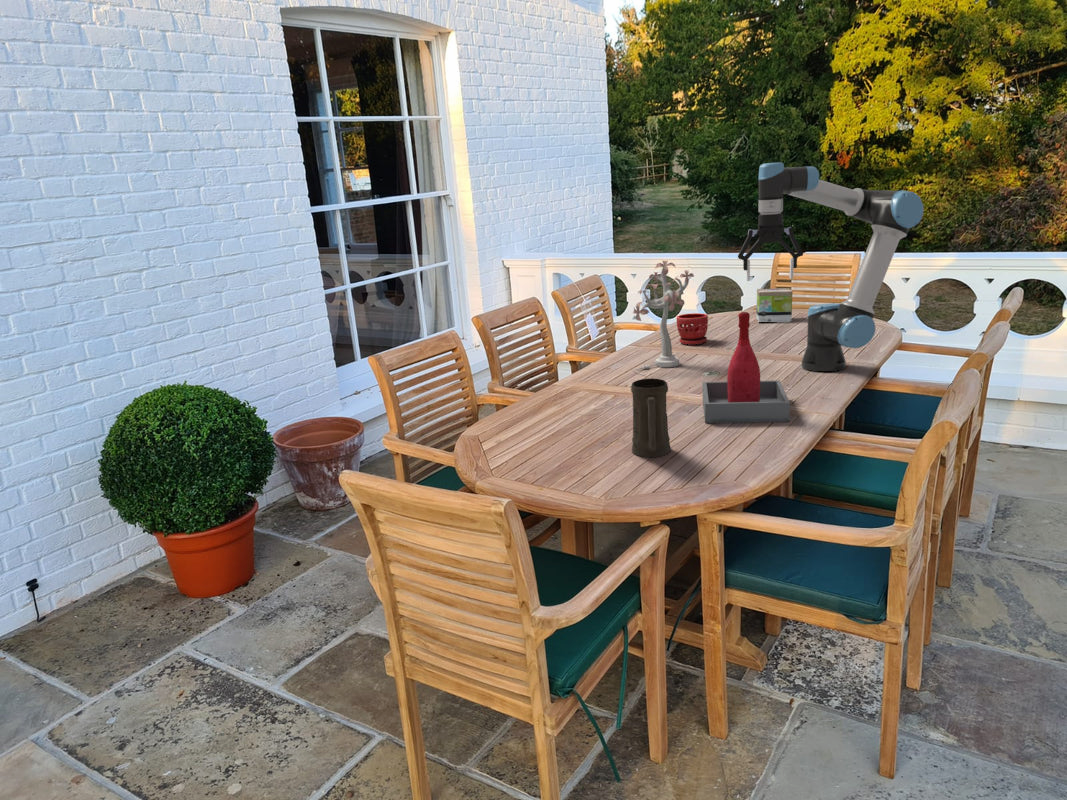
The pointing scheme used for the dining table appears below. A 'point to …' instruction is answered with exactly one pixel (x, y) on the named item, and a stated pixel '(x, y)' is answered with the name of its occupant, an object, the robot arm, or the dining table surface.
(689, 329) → the plant pot
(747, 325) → the wine bottle
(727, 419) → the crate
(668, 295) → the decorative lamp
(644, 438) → the beer stein
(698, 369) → the dining table surface
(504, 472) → the dining table surface
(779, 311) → the tea box
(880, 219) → the robot arm
